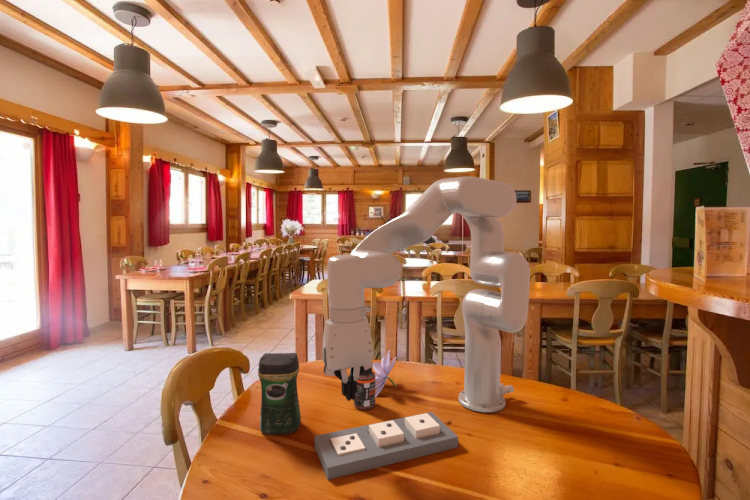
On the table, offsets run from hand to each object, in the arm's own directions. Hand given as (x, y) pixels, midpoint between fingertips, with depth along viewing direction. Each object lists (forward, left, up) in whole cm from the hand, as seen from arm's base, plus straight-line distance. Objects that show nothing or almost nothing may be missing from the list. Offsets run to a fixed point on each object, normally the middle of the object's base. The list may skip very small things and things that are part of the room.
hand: (349, 397), depth 84 cm
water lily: (-18, -29, -13) cm, 37 cm away
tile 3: (+1, 0, -12) cm, 13 cm away
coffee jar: (+13, -17, -13) cm, 25 cm away
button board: (-8, 0, -13) cm, 15 cm away
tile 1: (-17, 0, -11) cm, 21 cm away
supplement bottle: (-10, -20, -13) cm, 26 cm away
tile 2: (-8, 0, -11) cm, 14 cm away
